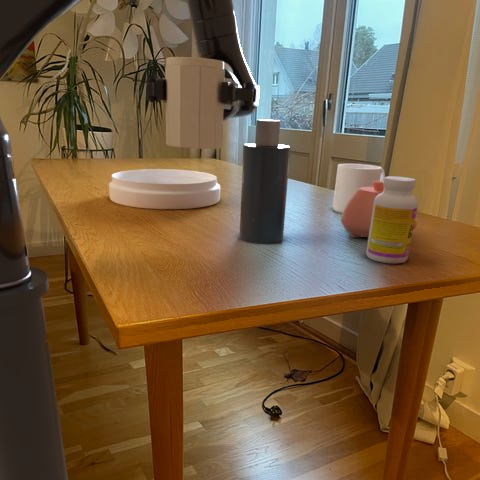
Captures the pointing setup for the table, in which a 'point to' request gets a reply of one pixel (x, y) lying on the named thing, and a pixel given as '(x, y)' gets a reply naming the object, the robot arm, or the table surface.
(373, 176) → the mug
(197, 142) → the beige faceted cylinder
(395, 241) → the supplement bottle
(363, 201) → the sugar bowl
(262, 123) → the flask
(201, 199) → the plate
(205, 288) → the table surface
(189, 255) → the table surface
